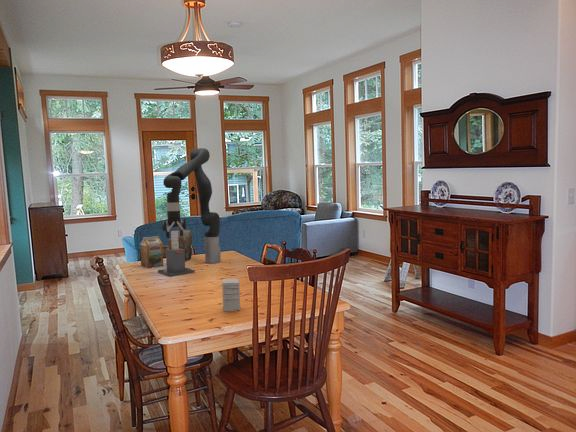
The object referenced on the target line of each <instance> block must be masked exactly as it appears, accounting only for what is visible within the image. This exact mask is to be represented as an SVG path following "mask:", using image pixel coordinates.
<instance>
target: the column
mask: <svg viewBox="0 0 576 432" xmlns="http://www.w3.org/2000/svg"><path fill="white" fill-rule="evenodd" d="M178 231H179V230H171V231H170V239H171V246H172V250H179V243H178Z"/></svg>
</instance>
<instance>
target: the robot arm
mask: <svg viewBox="0 0 576 432" xmlns="http://www.w3.org/2000/svg"><path fill="white" fill-rule="evenodd" d="M189 156H190V160H189V161H188V162H185V163H183V164H181V165H180V166H179V167H178V168H177V169H176V170H175V171H173V172H171V173H169V174H168V175H167V176H165V177H164V179H163V186H164V187H165V188H166V189H167V188H168V189H171V191H170V192H167V194H166V213H167V215H166V216H167V217H166V218H167V220H162V221H161V222H162V223H161V224H162V226H161V227H162V228H161V229H162V231H164V232H165V238H167V239H171V235H170V230H171V229H172V228H178V229H179V231H180V236H181V237H182V236H183V230H187V224H186V223H187V222H186V219H185V218H181V203H180V193H181V189H182V183H183V182H182V181H184V180H185V179H186V178H187V177H188V176H189V175H190V174H191V173H192V172H193V174H194V178H195V183H196V191H197V194H198V200H199V208H200V219H201V220H200V221H201V223H202V225H203V226H206V227H209V229H208V230H207V231H205V232H204V256H205V257H204V259H205V260H204V261H205V264H217V263H221V261H222V260H221V259H222V258H221V247H220V238H219V237H220V235H219V234H220V230H221V229H220V227H221V225H220V223H221V219H220V215H219V213H217V212H215V211H214V212H212V211H210V201H211V198H212V195H213V188H212V182H211V180H210V178H209V176H207V174H206V173H205V172H204V169H203V167H202V165H204V164H205V163H208V161H209V159H210V156H211V155H210V151H209V150H208V149H207V148H192V149H191V151H190V154H189ZM167 224H168V225H167Z"/></svg>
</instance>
